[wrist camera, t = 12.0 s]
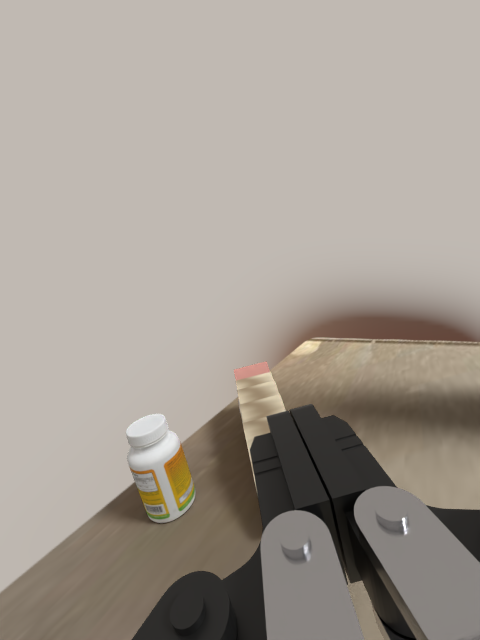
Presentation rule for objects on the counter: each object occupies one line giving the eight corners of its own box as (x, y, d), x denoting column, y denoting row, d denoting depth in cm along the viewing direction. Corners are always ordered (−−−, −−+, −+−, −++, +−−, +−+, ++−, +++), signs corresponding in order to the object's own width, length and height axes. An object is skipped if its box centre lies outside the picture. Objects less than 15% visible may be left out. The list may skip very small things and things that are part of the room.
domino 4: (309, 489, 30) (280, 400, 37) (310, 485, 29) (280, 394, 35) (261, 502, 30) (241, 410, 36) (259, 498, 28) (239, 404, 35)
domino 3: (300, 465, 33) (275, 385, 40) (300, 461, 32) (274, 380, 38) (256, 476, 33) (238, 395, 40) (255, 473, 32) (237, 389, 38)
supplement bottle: (190, 476, 36) (167, 403, 34) (202, 507, 31) (175, 424, 29) (145, 498, 34) (118, 423, 32) (149, 534, 29) (117, 449, 27)
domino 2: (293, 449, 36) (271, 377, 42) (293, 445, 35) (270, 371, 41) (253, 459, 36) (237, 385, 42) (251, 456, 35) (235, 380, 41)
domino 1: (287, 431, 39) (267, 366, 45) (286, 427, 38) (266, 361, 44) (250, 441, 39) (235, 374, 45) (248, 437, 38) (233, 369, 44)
